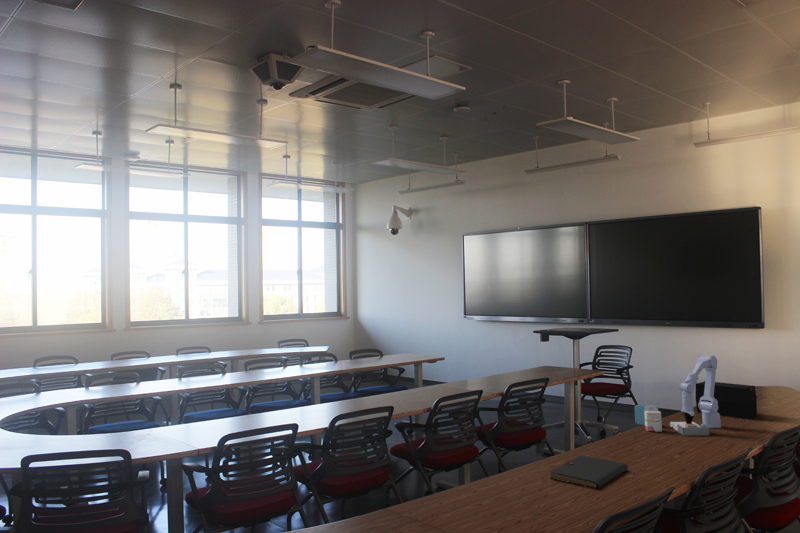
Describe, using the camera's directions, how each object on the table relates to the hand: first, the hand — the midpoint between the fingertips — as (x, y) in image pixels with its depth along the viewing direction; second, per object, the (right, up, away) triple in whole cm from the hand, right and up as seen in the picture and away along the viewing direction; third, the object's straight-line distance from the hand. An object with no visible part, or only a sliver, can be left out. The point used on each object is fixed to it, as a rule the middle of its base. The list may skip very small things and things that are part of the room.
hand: (689, 425), depth 340 cm
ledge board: (+1, -4, +5) cm, 6 cm away
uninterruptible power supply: (+47, -4, +39) cm, 61 cm away
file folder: (-85, -3, -73) cm, 113 cm away
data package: (-18, -5, +19) cm, 27 cm away
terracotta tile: (-1, -1, -4) cm, 4 cm away
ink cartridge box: (-20, -4, +3) cm, 21 cm away
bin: (-1, -3, -7) cm, 8 cm away
